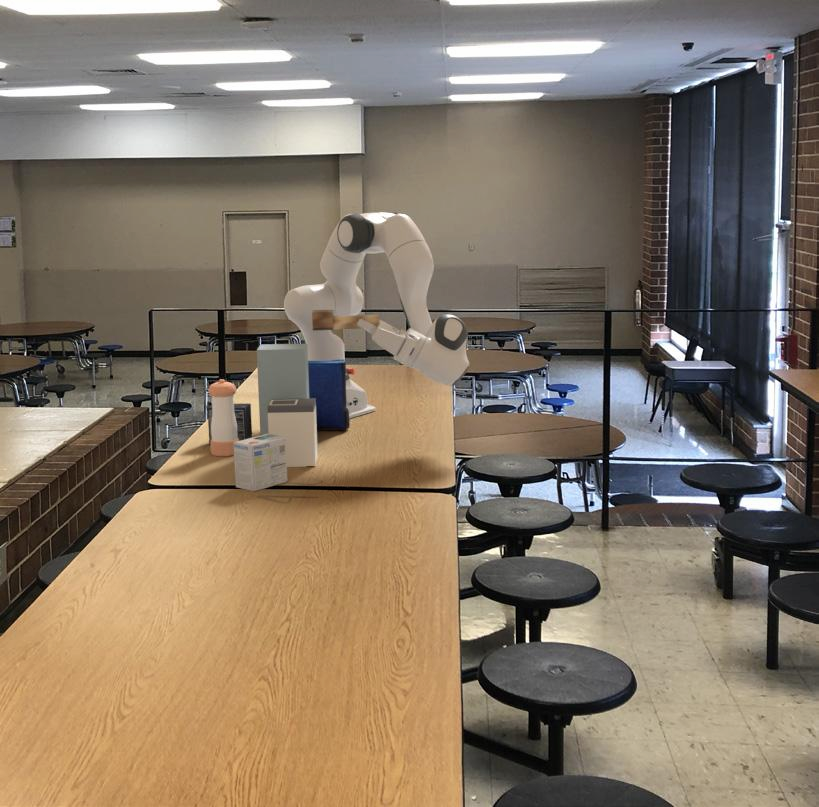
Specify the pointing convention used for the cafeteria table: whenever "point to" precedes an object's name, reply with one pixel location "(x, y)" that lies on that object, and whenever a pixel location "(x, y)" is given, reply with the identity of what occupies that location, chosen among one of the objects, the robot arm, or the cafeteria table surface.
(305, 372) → the stand
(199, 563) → the cafeteria table surface
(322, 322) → the stamp
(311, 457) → the card box
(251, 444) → the light bulb box
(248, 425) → the small box
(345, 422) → the blue fabric case
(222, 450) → the salt shaker
